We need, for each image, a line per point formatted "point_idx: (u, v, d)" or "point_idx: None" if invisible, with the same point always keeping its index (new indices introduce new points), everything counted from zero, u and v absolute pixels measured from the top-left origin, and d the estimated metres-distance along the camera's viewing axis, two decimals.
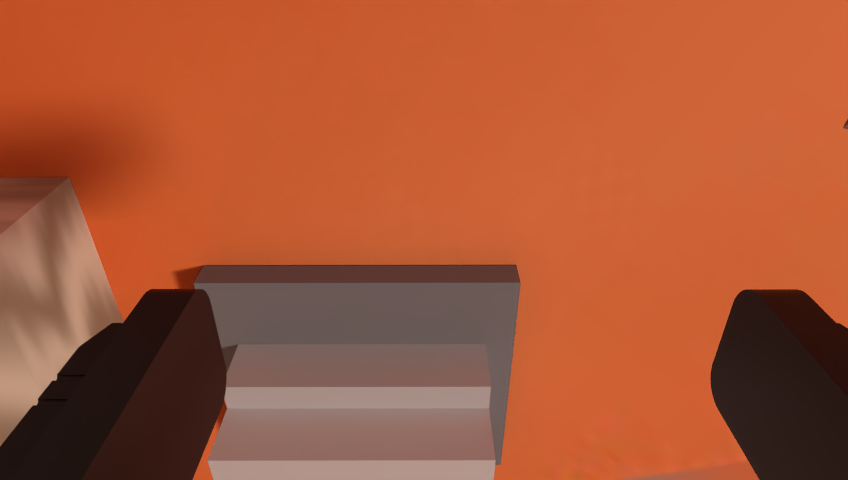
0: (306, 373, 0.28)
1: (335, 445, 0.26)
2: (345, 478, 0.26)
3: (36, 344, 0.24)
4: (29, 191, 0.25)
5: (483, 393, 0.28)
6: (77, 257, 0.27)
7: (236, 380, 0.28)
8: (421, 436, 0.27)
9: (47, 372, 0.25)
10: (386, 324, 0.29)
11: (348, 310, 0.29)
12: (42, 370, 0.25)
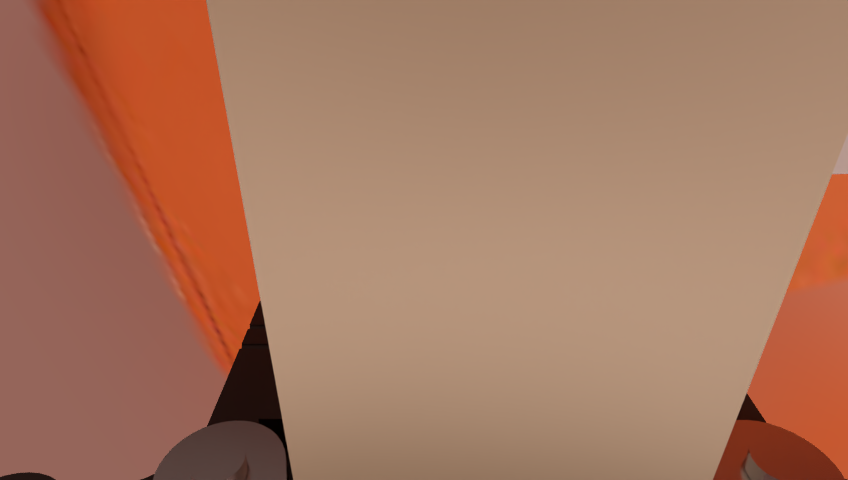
0: None
1: None
2: None
3: None
4: None
5: None
6: None
7: None
8: None
9: None
10: None
11: None
12: None
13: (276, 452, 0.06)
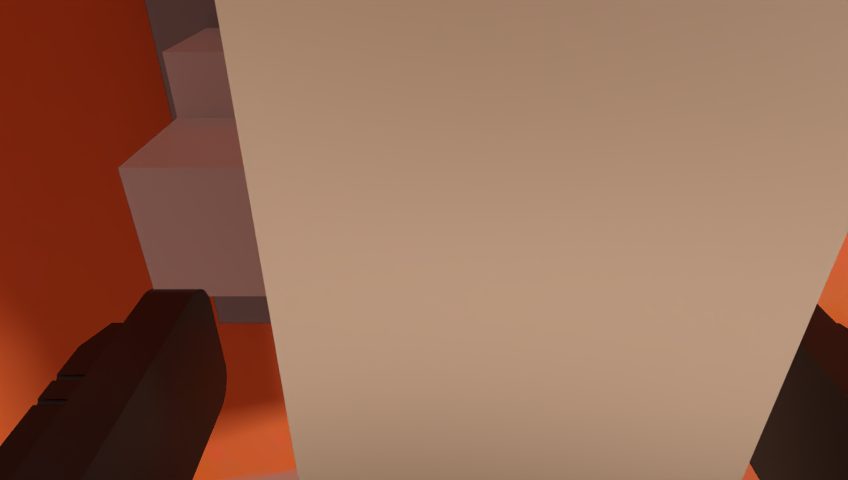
0: None
1: None
2: None
3: None
4: None
5: None
6: None
7: (196, 48, 0.13)
8: None
9: None
10: None
11: None
12: None
13: None
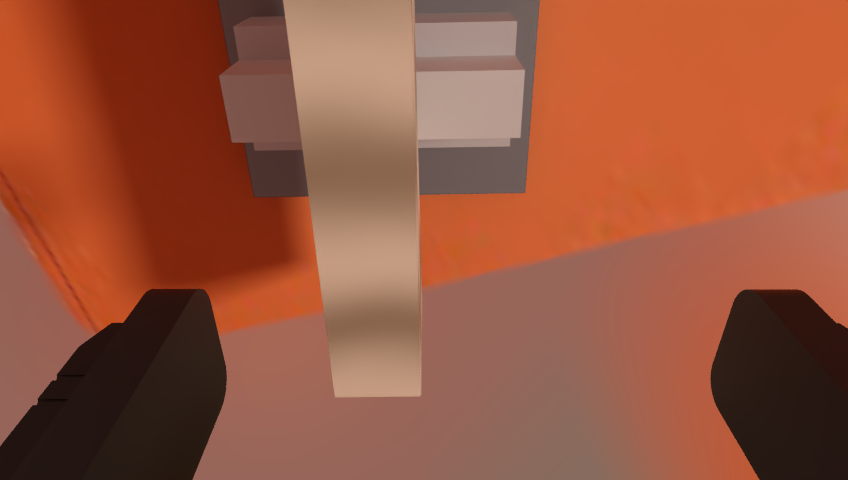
0: None
1: None
2: None
3: (410, 9, 0.17)
4: None
5: (509, 31, 0.26)
6: None
7: (249, 25, 0.26)
8: (444, 64, 0.25)
9: None
10: None
11: None
12: (411, 53, 0.18)
13: None
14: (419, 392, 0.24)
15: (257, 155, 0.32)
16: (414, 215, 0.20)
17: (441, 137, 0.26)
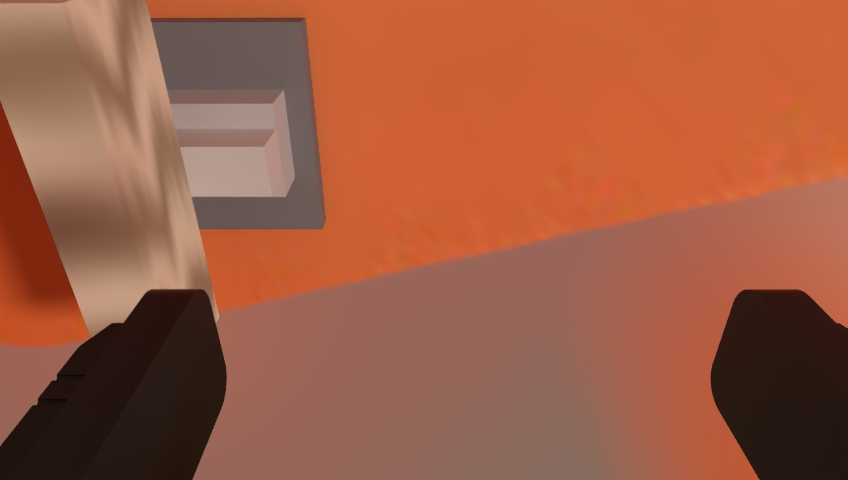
0: None
1: None
2: None
3: (110, 125, 0.24)
4: None
5: (268, 111, 0.33)
6: (145, 65, 0.27)
7: None
8: (210, 138, 0.32)
9: (119, 160, 0.25)
10: (197, 67, 0.35)
11: (163, 52, 0.34)
12: (115, 155, 0.25)
13: None
14: None
15: None
16: (139, 266, 0.27)
17: (209, 194, 0.33)
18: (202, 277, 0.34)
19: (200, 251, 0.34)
